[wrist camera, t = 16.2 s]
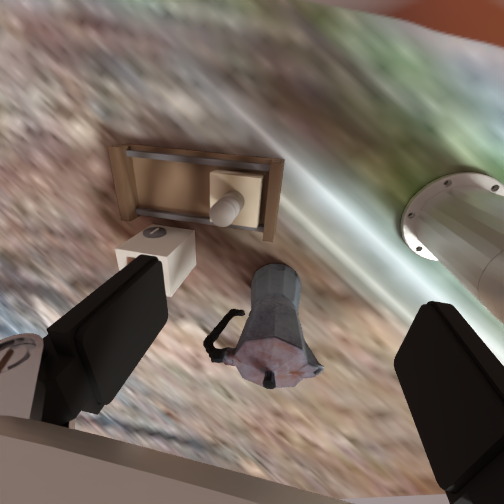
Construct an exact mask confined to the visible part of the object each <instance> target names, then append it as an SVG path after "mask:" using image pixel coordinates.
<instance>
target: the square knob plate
mask: <svg viewBox="0 0 504 504" xmlns="http://www.w3.org/2000/svg"><path fill="white" fill-rule="evenodd" d="M263 182H264V174H256V173H247V172H238V171H229V170H220V169H216V170H214V171H212V172H210V212H209V215H210V222H213V223H214V224H215V225H217V226H220V227H226V226H229V225H230V224H232V225H239V226H246V227H253V228H257V226H258V224H259V222H260V214H261V204H262V193H263Z"/></svg>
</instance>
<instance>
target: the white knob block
mask: <svg viewBox="0 0 504 504" xmlns="http://www.w3.org/2000/svg"><path fill="white" fill-rule="evenodd" d="M115 251H116V256H117V261H118V265H119V270H121V269H123V268H124V267H125V266H126V265H128V264H129V263H130V262H131V261H133V260H134V259H135V258H136V257H138V256H139V255H141V254H144V255H150V256H156V257H157V258H158V259H159V261H161V262H162V265H163V274H164V283H165V291H166V296H169V297H172V295H173V294H174V293H175V291H176V290H177V289H178V288H179V286H180V285H181V284H182V282H183V281H184V280H185V278H186V277H187V276H188V274H189V273H190V272H191V271H192V269H193V268H194V267H195V265H196V248H195V230H190V229H183V228H176V227H169V226H162V225H156V224H152V225H150V226H148V227H147V228H145V229H144V230H142V231H141V232H139V233H138V234H136V235H135V236H133V237H132V238H130V239H129V240H127V241H126V242H124V243H123V244H121V245H120V246H118V247H117V248H115Z"/></svg>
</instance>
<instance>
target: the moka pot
mask: <svg viewBox="0 0 504 504" xmlns="http://www.w3.org/2000/svg"><path fill="white" fill-rule="evenodd" d="M300 292H301V283H300V279H299V277H298V274H297V273H296V272H295V271H294V270H293V269H291V268H290V267H288V266H286V265H283V264H268V265H265V266H263V267H261V268H260V269H258V270H257V271H256V272H255V275H254V277H253V279H252V281H251V311H250V313H249V317H248V319H247V321H246V323H245V326H244V329H243V331H242V334H241V336H240V339H239V341H238V344H237V346H236V348H230V347H227V348H223V349H217V348H215V347H214V346H213V343H214V341H215V340H217V338H218V337H219V334H221V332H222V331H223V329H224V328H225V327H226V325H227V324H228V322H229V321H230V320H231V319H232V318H233V317H234V316H243V315H245V312H244V310H238V309H237V310H236V309H231V310H230V311H229V312H228V313H227V314H226V315H225V316H224V318H223V319H222V320H221V321H220V322H219V324H218V325H217V326H216V327H215V328H214V330H213V331H212V332H211V333H210V335H208V336H207V337H206V338H205V340H204V341H203V345H204V347H205V348H206V352H207V353H209V357H210V358H211V361H212V362H216V363H221V362H224V364H225V365H231V366H236V367H237V369H238V371H239V372H240V374H241V376H242V378H244V379H246V380H248V381H251V382H253V383H255V384H258V385H260V386H262V387H265V388H267V389H274V388H282V387H294V386H296V385H297V384H298V383H299V382H300V381H301V380H302V379H303V378H311V377H315V376H316V375H318V374H320V373H321V372H322V371H323V370H324V366H322V365H321V364H320V363H319V362H318V361H317V359H316V358H315V356H314V354H313V353H312V351H311V350H310V348H309V346H308V345H307V343H306V342H305V340H304V337H303V332H302V328H301V324H300V321H299V318H298V307H299V300H300Z"/></svg>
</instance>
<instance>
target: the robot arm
mask: <svg viewBox="0 0 504 504" xmlns="http://www.w3.org/2000/svg"><path fill="white" fill-rule="evenodd" d="M445 181H446V183H445V184H444V182H445ZM491 187H492V188H491ZM409 213H411V214H410V215H408V214H409ZM401 234H402V237H403V239H404V241H405V243H406V244H407V245H408V247H409V248H410V249H411V250H412V251H413V252H414V253H416V254H418V255H419V256H421V257H423V258H427V259H430V260H436V261H439V262H440V263H441V264H442V265H443V266H444V267H445V268H446V269H447V270H448V271H449V272H450V273H451V274H452V275H453V276H454V277H455V278H456V279H457V280H458V281H459V282H460V283H461V284H462V285H463V286H464V287H465V288H466V289H467V290H468V291H469V292H470V293H471V294H472V295H473V296H474V297H475V298H476V299H477V300H478V301H479V302H480V303H481V304H482V305H483V306H484V307H485V308H486V309H487V310H488V311H489V312H490V313H491V314H492V315H493V316H494V317H495V318H497V319H498V320H499V321H500V322H501V323H503V324H504V185H503V184H502V183H500V182H499V181H498V180H496V179H494V178H492V177H490V176H488V175H484V174H480V173H474V172H460V173H454V174H450V175H446V176H443V177H441V178H438V179H436V180H434V181H432V182H431V183H429V184H427V185H426V186H424V187H423V188H422V189H421V190H419V191H418V192H417V193H416V194H415V195H414V196H413V197H412V198H411V200H410V201H409V203H408V204H407V206H406V207H405V210H404V212H403V214H402V218H401ZM416 247H417V248H416ZM167 319H168V308H167V300H166V291H165V283H164V274H163V265H162V262H161V261H159V259H158V258H157V257H156V256H150V255H144V254H141V255H139V256H138V257H136V258H135V259H134V260H133V261H131V262H130V263H129V264H128V265H126V266H125V267H124V268H123V269H121V270H120V271H119V272H118V273H116V274H115V275H114V276H113V277H111V278H110V279H109V280H108V281H106V282H105V283H104V284H103V285H101V286H100V287H99V288H97V289H96V290H95V291H94V292H92V293H91V294H90V295H89V296H87V297H86V298H85V299H84V300H82V301H81V302H80V303H79V304H77V305H76V306H75V307H74V308H72V309H71V310H70V311H69V312H67V313H66V314H65V315H64V316H62V317H61V318H60V319H59V320H57V321H56V322H55V323H54V324H52V325H51V326H50V327H49V328H47V332H48V335H47V336H46V337H44V338H43V339H42V338H41V337H40V336H39V335H36V334H33V333H24V334H18V335H13V336H10V337H7V338H4V339H2V340H0V504H353V503H350V502H346V501H342V500H339V499H335V498H332V497H328V496H324V495H320V494H317V493H313V492H309V491H306V490H302V489H298V488H295V487H291V486H287V485H283V484H280V483H276V482H272V481H269V480H265V479H261V478H258V477H254V476H250V475H246V474H243V473H239V472H235V471H232V470H228V469H224V468H220V467H217V466H213V465H209V464H205V463H202V462H198V461H194V460H191V459H187V458H183V457H179V456H175V455H172V454H168V453H164V452H160V451H156V450H153V449H149V448H145V447H141V446H137V445H134V444H130V443H126V442H122V441H118V440H115V439H111V438H107V437H103V436H99V435H95V434H91V433H87V432H83V431H79V430H75V418H76V417H77V415H78V414H79V413H80V411H81V410H82V411H85V412H89V413H93V414H97V415H98V414H99V412H100V411H101V409H102V408H103V406H104V405H107V404H109V403H110V402H111V401H112V400H113V399H114V397H115V396H116V394H117V393H118V392H119V390H120V389H121V387H122V386H123V384H124V383H125V381H126V380H127V379H128V377H129V376H130V374H131V373H132V371H133V370H134V368H135V367H136V366H137V364H138V363H139V361H140V360H141V358H142V357H143V355H144V354H145V353H146V351H147V350H148V348H149V347H150V345H151V344H152V342H153V341H154V340H155V338H156V337H157V335H158V334H159V332H160V331H161V329H162V328H163V327H164V325H165V324H166V322H167ZM394 368H395V371H396V374H397V377H398V379H399V382H400V385H401V387H402V390H403V393H404V395H405V398H406V401H407V403H408V406H409V409H410V411H411V414H412V417H413V419H414V422H415V425H416V428H417V430H418V433H419V436H420V438H421V441H422V444H423V446H424V449H425V452H426V454H427V457H428V460H429V462H430V465H431V468H432V470H433V473H434V476H435V478H436V481H437V483H438V485H439V486H440V487H441V488H442V489H443V490H445V492H446V495H447V497H448V500H449V502H450V504H504V366H503V365H502V364H501V363H500V361H499V360H498V359H497V358H496V357H495V355H494V354H493V353H492V352H491V350H490V349H489V348H488V347H487V346H486V344H485V343H484V342H483V341H482V340H481V338H480V337H479V336H478V335H477V334H476V332H475V331H474V330H473V329H472V328H471V326H470V325H469V324H468V323H467V322H466V320H465V319H464V318H463V317H462V315H461V314H460V313H459V312H458V311H457V309H456V308H455V307H454V306H453V305H451V304H447V303H441V302H435V301H429V302H428V303H427V304H423V305H422V306H421V307H420V309H419V311H418V313H417V315H416V317H415V319H414V321H413V323H412V325H411V327H410V329H409V331H408V333H407V335H406V337H405V339H404V341H403V343H402V345H401V346H400V348H399V350H398V352H397V354H396V356H395V359H394Z"/></svg>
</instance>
